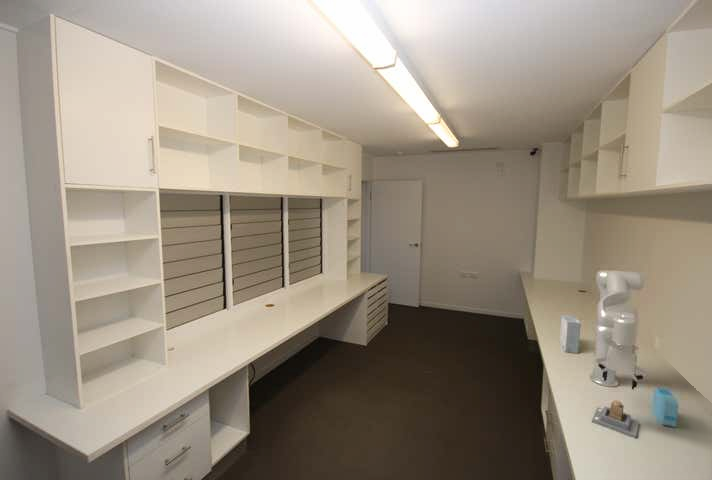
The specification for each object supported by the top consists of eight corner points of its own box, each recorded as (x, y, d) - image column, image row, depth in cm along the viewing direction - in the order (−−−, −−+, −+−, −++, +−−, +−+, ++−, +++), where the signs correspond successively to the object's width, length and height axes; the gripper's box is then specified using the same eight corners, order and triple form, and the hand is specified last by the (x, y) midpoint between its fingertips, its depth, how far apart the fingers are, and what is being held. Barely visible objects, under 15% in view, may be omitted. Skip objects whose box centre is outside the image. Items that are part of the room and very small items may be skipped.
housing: (597, 409, 160) (598, 402, 160) (639, 423, 150) (639, 416, 149) (591, 422, 151) (592, 414, 150) (635, 438, 140) (636, 430, 140)
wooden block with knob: (611, 416, 153) (612, 398, 152) (622, 420, 150) (624, 402, 149) (609, 420, 150) (610, 402, 149) (620, 424, 147) (622, 406, 146)
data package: (676, 428, 147) (679, 402, 145) (662, 426, 148) (665, 399, 147) (664, 412, 157) (667, 388, 156) (651, 410, 159) (654, 386, 158)
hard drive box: (578, 354, 217) (581, 323, 215) (564, 352, 220) (567, 322, 217) (572, 344, 232) (574, 315, 230) (559, 342, 234) (561, 314, 232)
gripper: (650, 349, 143) (645, 388, 145) (599, 337, 155) (596, 373, 157) (648, 355, 138) (644, 395, 140) (596, 343, 150) (593, 379, 152)
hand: (618, 383), depth 149 cm, fingers open, 9 cm apart
